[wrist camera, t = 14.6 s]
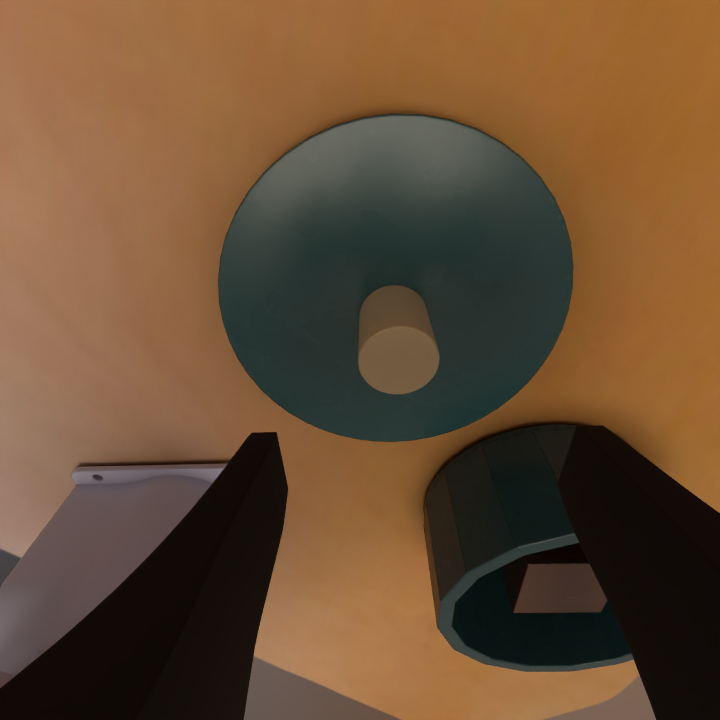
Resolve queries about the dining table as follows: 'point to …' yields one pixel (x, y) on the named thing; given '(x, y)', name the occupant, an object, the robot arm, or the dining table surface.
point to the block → (553, 582)
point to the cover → (395, 277)
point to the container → (508, 555)
